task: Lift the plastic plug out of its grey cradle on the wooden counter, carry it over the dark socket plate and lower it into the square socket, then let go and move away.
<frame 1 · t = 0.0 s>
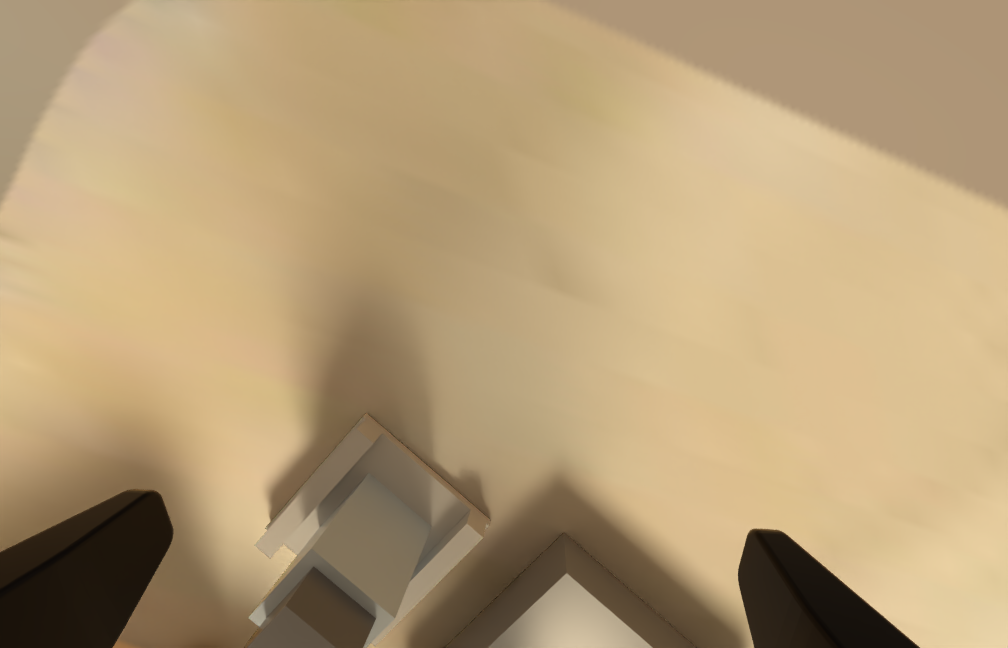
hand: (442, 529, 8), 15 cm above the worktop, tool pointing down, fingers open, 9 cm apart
plug: (374, 527, 24), resting on cradle
cradle: (378, 521, 25), on the worktop
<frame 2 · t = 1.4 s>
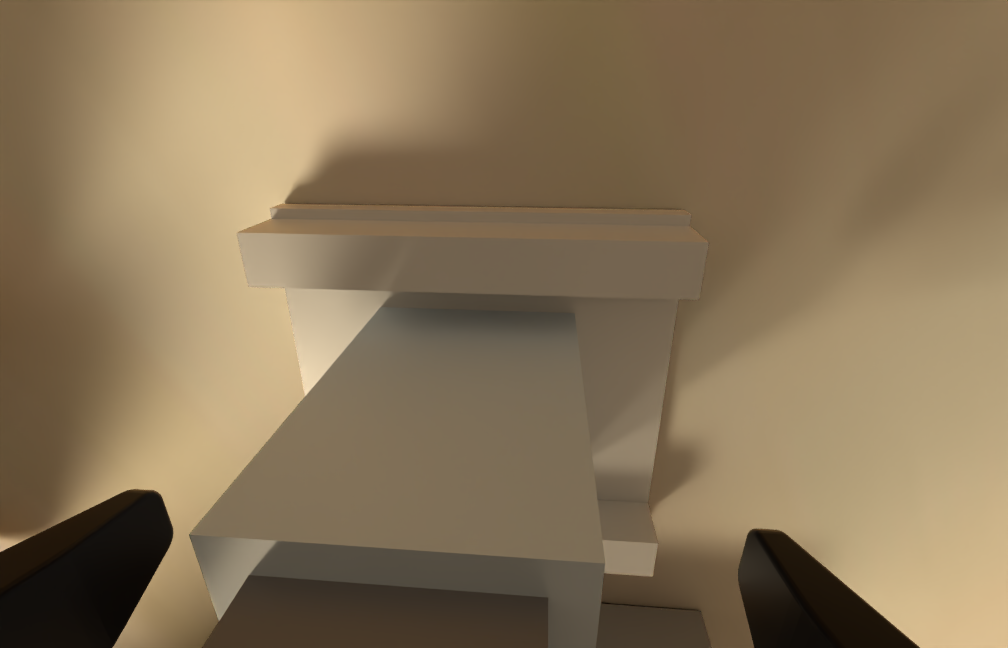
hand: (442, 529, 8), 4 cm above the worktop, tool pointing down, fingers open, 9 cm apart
plug: (478, 394, 11), resting on cradle
cradle: (481, 382, 11), on the worktop
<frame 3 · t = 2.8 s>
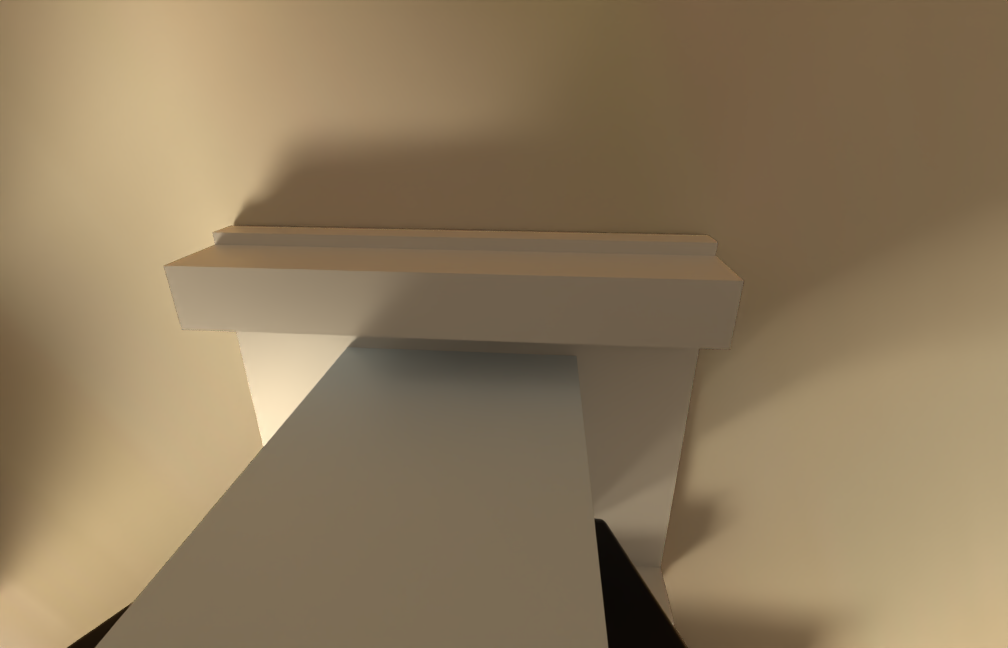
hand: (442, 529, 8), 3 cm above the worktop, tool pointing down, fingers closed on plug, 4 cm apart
plug: (463, 445, 9), resting on cradle, touching gripper
cradle: (467, 430, 10), on the worktop
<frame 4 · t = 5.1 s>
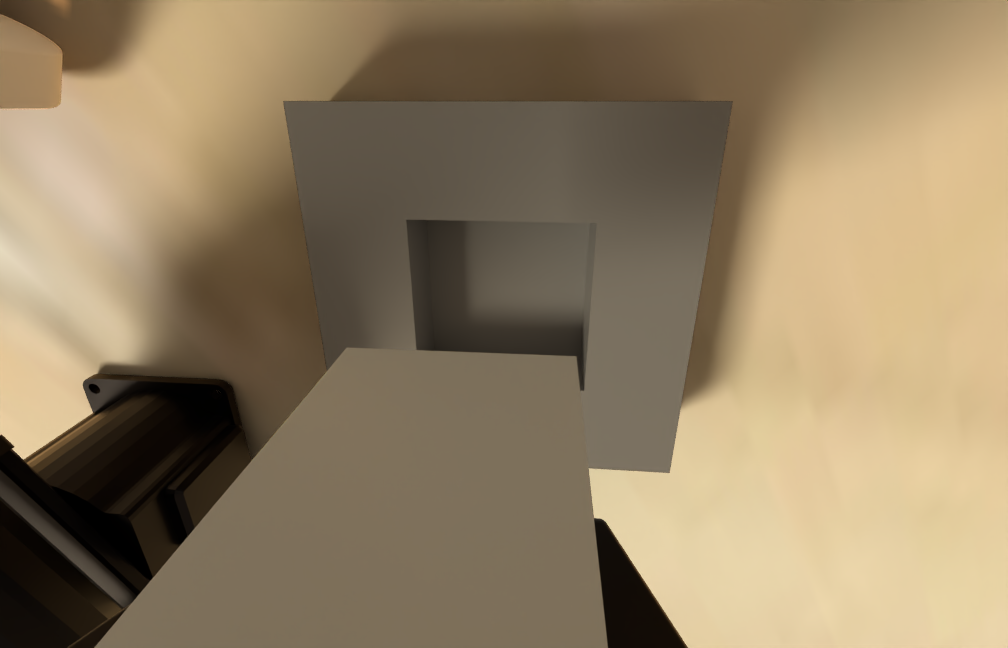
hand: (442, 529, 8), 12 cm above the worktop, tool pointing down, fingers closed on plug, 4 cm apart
plug: (463, 446, 9), point 10 cm above the worktop, touching gripper
socket plate: (507, 279, 18), on the worktop
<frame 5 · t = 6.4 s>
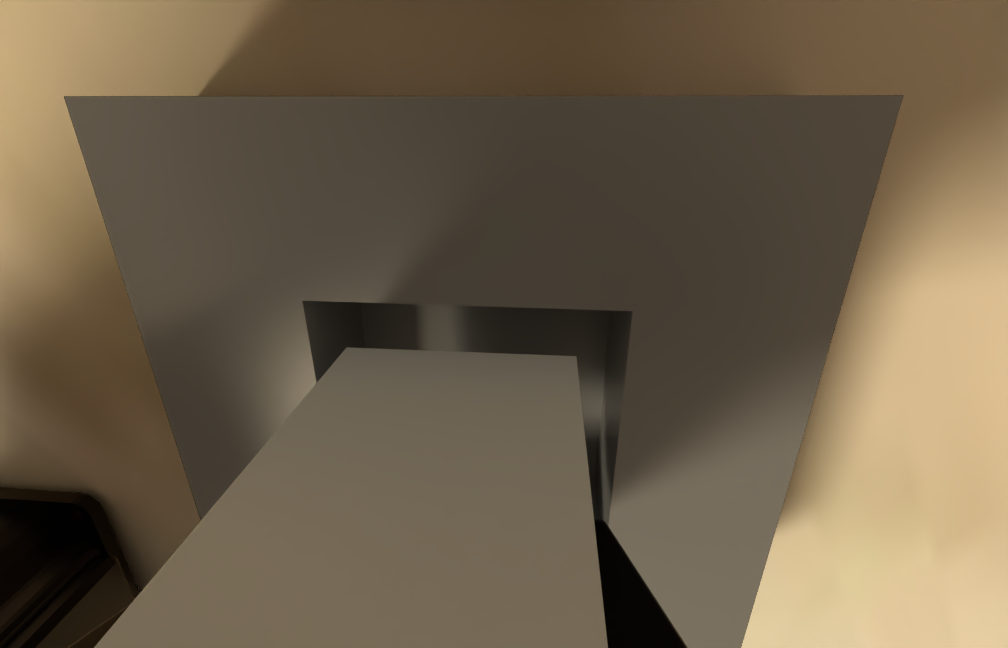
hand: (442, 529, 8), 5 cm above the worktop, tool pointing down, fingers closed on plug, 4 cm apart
plug: (463, 446, 9), point 3 cm above the worktop, touching gripper
socket plate: (486, 367, 12), on the worktop
when the fingers open (4 cm above the worktop, at t = 7.5 s): plug drops 1 cm, resting on socket plate.
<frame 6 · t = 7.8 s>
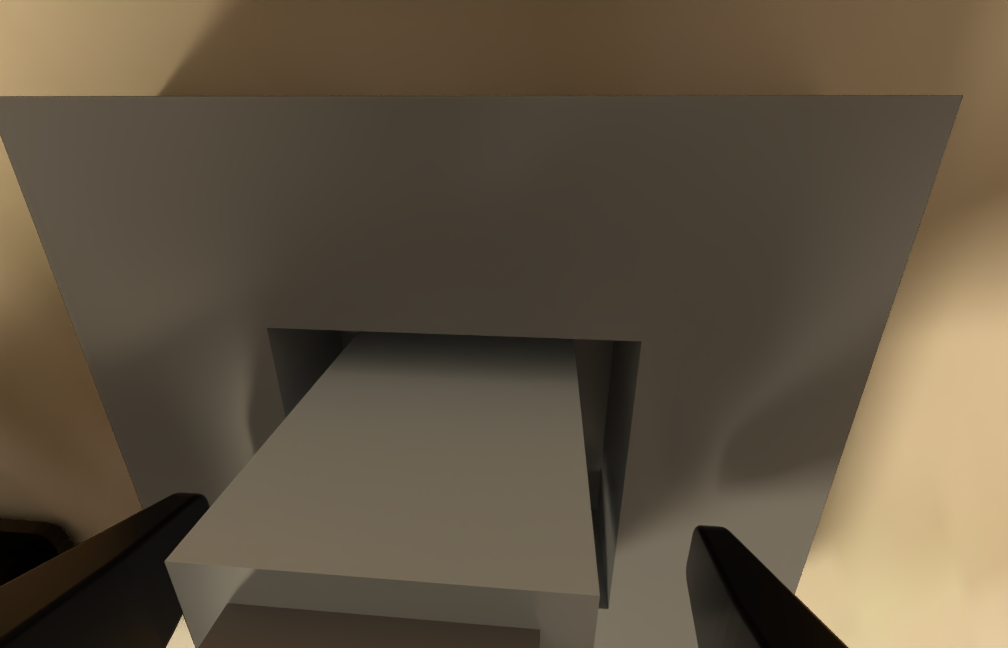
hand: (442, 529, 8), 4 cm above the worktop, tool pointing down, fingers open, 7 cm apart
plug: (473, 403, 11), resting on socket plate
socket plate: (478, 391, 11), on the worktop
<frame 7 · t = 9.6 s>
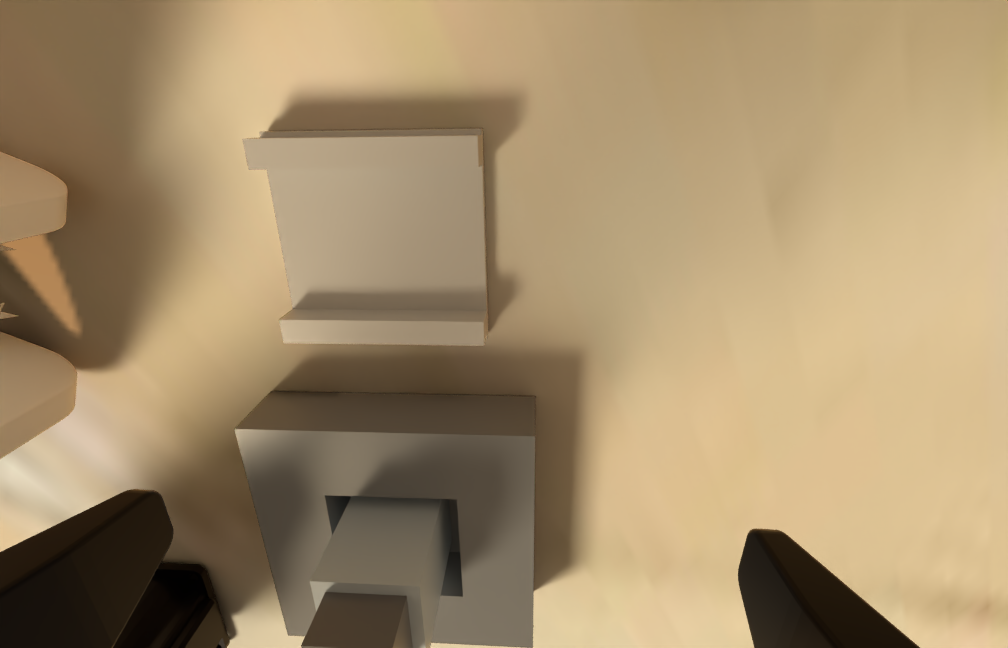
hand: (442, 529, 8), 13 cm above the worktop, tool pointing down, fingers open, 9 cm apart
plug: (408, 506, 24), resting on socket plate
cradle: (384, 238, 20), on the worktop
socket plate: (412, 499, 24), on the worktop
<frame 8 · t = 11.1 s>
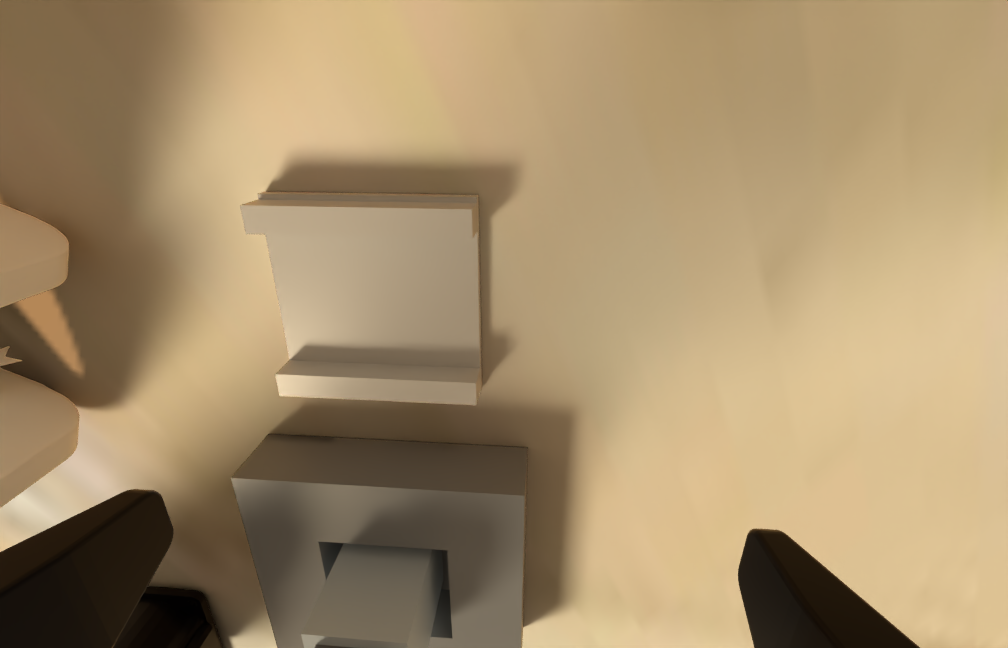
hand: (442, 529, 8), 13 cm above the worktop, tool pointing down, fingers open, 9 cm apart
plug: (401, 546, 24), resting on socket plate
cradle: (380, 295, 20), on the worktop
socket plate: (405, 538, 25), on the worktop
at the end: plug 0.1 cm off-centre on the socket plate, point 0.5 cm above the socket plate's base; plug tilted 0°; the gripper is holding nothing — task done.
